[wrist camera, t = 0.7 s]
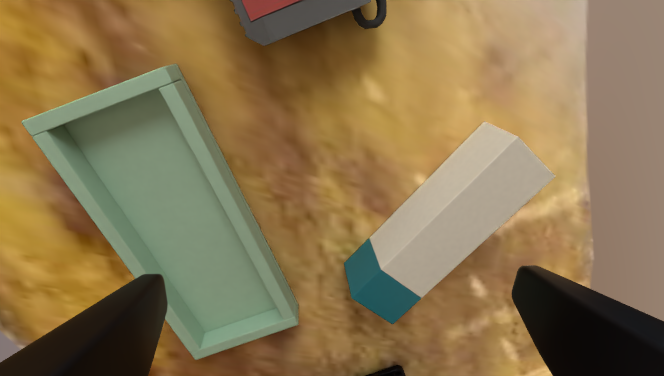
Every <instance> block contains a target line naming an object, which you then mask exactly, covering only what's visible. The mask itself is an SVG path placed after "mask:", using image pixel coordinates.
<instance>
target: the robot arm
mask: <svg viewBox="0 0 664 376" xmlns="http://www.w3.org/2000/svg"><path fill="white" fill-rule="evenodd" d="M512 299H513V302H514V304H515V306H516V308H517V310H518V312H519V314H520V316H521V318H522V320H523V322H524V324H525V326H526V328H527V330H528V332H529V334H530V336H531V338H532V340H533V342H534V344H535V346H536V348H537V350H538V351H539V353H540V355H541V357H542V358H543V360H544V362H545V364H546V365H547V367H548V368H549V370H550V372H551V373H552V375H553V376H664V321H662V320H659V319H657V318H655V317H652V316H650V315H648V314H646V313H643V312H641V311H639V310H637V309H634V308H632V307H630V306H627V305H625V304H623V303H621V302H619V301H616V300H614V299H612V298H609V297H607V296H605V295H603V294H600V293H598V292H596V291H593V290H591V289H589V288H587V287H584V286H582V285H580V284H578V283H575V282H573V281H571V280H569V279H566V278H564V277H562V276H560V275H557V274H555V273H553V272H550V271H548V270H546V269H544V268H541V267H539V266H535V265H534V266H521V267H520V268H519V269H518V271H517V275H516V278H515V282H514V285H513V289H512ZM167 307H168V301H167V295H166V289H165V283H164V278H163V276H162V275H161V274H143V275H141V276H139V277H137V278H136V279H134V280H133V281H131V282H129V283H128V284H126V285H125V286H123V287H121V288H120V289H118V290H117V291H115V292H113V293H112V294H110V295H108V296H107V297H105V298H104V299H102V300H100V301H99V302H97V303H96V304H94V305H92V306H91V307H89V308H88V309H86V310H84V311H83V312H81V313H79V314H78V315H76V316H75V317H73V318H71V319H70V320H68V321H67V322H65V323H63V324H62V325H60V326H59V327H57V328H55V329H54V330H52V331H50V332H49V333H47V334H46V335H44V336H42V337H41V338H39V339H38V340H36V341H34V342H33V343H31V344H30V345H28V346H26V347H25V348H23V349H21V350H20V351H18V352H17V353H15V354H13V355H12V356H10V357H9V358H7V359H5V360H4V361H2V362H1V363H0V376H148V374H149V371H150V368H151V365H152V361H153V358H154V354H155V351H156V347H157V344H158V341H159V337H160V334H161V330H162V327H163V323H164V320H165V316H166V313H167ZM366 376H405V373H404V370H403V368H402V366H400V365H396V366H393V367H390V368H387V369H384V370H381V371H378V372H375V373H372V374H369V375H366Z"/></svg>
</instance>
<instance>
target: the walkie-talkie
mask: <svg viewBox="0 0 664 376" xmlns="http://www.w3.org/2000/svg"><path fill="white" fill-rule="evenodd" d="M230 1H231V2H233V4H234V6H235V9H234V11H235V14H238V15H239V18H240V20H241V21H240V25H241V26H243V27H244V29H245V31H246V34H245V36H246V37H248V38H250V39H252V40H253V41H255V42H257V43H259V44H261V45H263V46H265V45H268V44H271V43H273V42H275V41H278V40H280V39H283V38H285V37H288V36H290V35H292V34H295V33H297V32H300V31H302V30H305V29H307V28H309V27H312V26H314V25H317V24H319V23H321V22H324V21H326V20H329V19H331V18H334V17H336V16H338V15H341V14H343V13H346V12H348V11H352V13H353V16H354V19H355V21H356V22H357V23H358V25H359V26H360V27H362V28H364V29H369V28H377V27H378V26H380V25H381V24H382V23H383V21H384V20H385V17H386V0H376V2H377V16H376V18H375V19H374V20H366V19H365V18H364V16H363V14H362V12H361V9H360V7H361V6H363V5H365V4H367V3H369V2H371V0H230Z"/></svg>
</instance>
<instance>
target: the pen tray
mask: <svg viewBox="0 0 664 376" xmlns="http://www.w3.org/2000/svg"><path fill="white" fill-rule="evenodd" d="M22 124H23V125H24V127H25V128H26V129H27V131H28V132H29V134H30V135H31V136H33V137H32V138H33V139H34V141H35V142H36V143H37V145H38V146H39V147H40V149H41V150H42V151H43V153H44V154H45V156H46V157H47V158H48V160H49V161H50V162H51V164H52V165H53V167H54V168H55V169H56V171H57V172H58V173H59V175H60V176H61V177H62V179H63V180H64V182H65V183H66V184H67V186H68V187H69V188H70V190H71V191H72V192H73V194H74V195H75V197H76V198H77V199H78V201H79V202H80V203H81V205H82V206H83V207H84V209H85V210H86V212H87V213H88V214H89V216H90V217H91V218H92V220H93V221H94V222H95V224H96V225H97V227H98V228H99V229H100V231H101V232H102V233H103V235H104V236H105V238H106V239H107V240H108V242H109V243H110V244H111V246H112V247H113V248H114V250H115V251H116V253H117V254H118V255H119V257H120V258H121V259H122V261H123V262H124V263H125V265H126V266H127V268H128V269H129V270H130V272H131V273H132V274H133V276H134V277H135V278H137V277H139V276H141V275H143V274H161V275H162V276H163V278H164V283H165V289H166V295H167V301H168V307H167V313H166V316H165V319H166V321H167V322H168V324H169V325H170V326H171V328H172V329H173V330H174V332H175V333H176V334H177V336H178V337H179V339H180V340H181V341H182V343H183V344H184V345H185V347H186V348H187V349H188V351H189V352H190V353H191V355H192V356H193V357H194V359H195V360H197V359H200V358H203V357H206V356H209V355H212V354H215V353H217V352H220V351H223V350H226V349H229V348H232V347H235V346H238V345H241V344H244V343H247V342H249V341H252V340H255V339H258V338H261V337H264V336H267V335H270V334H273V333H276V332H279V331H282V330H284V329H287V328H290V327H293V326H296V325H298V324H299V322H298V303H297V301H296V299H295V297H294V295H293V293H292V291H291V289H290V287H289V285H288V283H287V281H286V279H285V277H284V275H283V273H282V271H281V269H280V267H279V265H278V263H277V261H276V259H275V257H274V255H273V253H272V251H271V249H270V247H269V245H268V243H267V241H266V239H265V237H264V236H263V234H262V232H261V230H260V228H259V226H258V224H257V222H256V220H255V218H254V216H253V214H252V212H251V210H250V208H249V206H248V204H247V202H246V200H245V198H244V196H243V194H242V192H241V190H240V188H239V186H238V184H237V182H236V180H235V178H234V176H233V174H232V172H231V170H230V168H229V166H228V164H227V162H226V160H225V158H224V156H223V154H222V152H221V150H220V148H219V146H218V144H217V142H216V140H215V138H214V137H213V135H212V133H211V131H210V129H209V127H208V125H207V123H206V121H205V119H204V117H203V115H202V113H201V111H200V109H199V107H198V105H197V103H196V101H195V99H194V97H193V95H192V93H191V91H190V89H189V87H188V85H187V83H186V81H185V79H184V77H183V75H182V73H181V71H180V69H179V67H178V65H177V64H173V65H169V66H164V67H161V68H159V69H156V70H154V71H151V72H148V73H146V74H143V75H141V76H138V77H135V78H133V79H130V80H128V81H125V82H122V83H120V84H117V85H114V86H112V87H109V88H107V89H104V90H101V91H99V92H96V93H94V94H91V95H88V96H86V97H83V98H81V99H78V100H75V101H73V102H70V103H68V104H65V105H62V106H60V107H57V108H55V109H52V110H49V111H47V112H44V113H42V114H39V115H36V116H34V117H31V118H29V119H26V120H23V121H22Z"/></svg>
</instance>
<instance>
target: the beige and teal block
mask: <svg viewBox="0 0 664 376" xmlns="http://www.w3.org/2000/svg"><path fill="white" fill-rule="evenodd" d="M553 178H555V175H554V174H553V173H552V172H551V171H550V170H549V169H548V168H547V167H546V166H545V165H544V164H543V163H542V161H541V160H540V159H539V158H538V157H537V156H536V155H535V154H534V153H533V152H532V151H531V150H530V149H529V148H528V147H527V145H526V144H525V143H524V142H523V141H522V140H521V139H520V138H519V137H518V136H516V135H514V134H511V133H509V132H507V131H505V130H502V129H500V128H498V127H496V126H494V125H491V124H489V123H487V122H483V123H482V124H481V125H480V126H479V127H478V128H477V129H476V130H475V131H474V132H473V133H472V134H471V135H470V136H469V137H468V138H467V139H466V140H465V141H464V142H463V143H462V144H461V145H460V146H459V147H458V148H457V149H456V150H455V151H454V152H453V153H452V154H451V155H450V156H449V157H448V158H447V159H446V161H445V162H444V163H443V164H442V165H441V166H440V167H439V168H438V169H437V170H436V171H435V172H434V173H433V174H432V175H431V176H430V177H429V178H428V179H427V180H426V181H425V182H424V183H423V184H422V185H421V186H420V187H419V188H418V189H417V190H416V191H415V192H414V193H413V194H412V195H411V196H410V197H409V198H408V199H407V200H406V201H405V202H404V203H403V204H402V205H401V206H400V207H399V208H398V209H397V210H396V211H395V212H394V213H393V214H392V215H391V216H390V217H389V218H388V219H387V220H386V221H385V222H384V223H383V224H382V225H381V226H380V227H379V229H378V230H377V231H376V232H375V233H374V234H373V235H372V236H371V237H370V238H369V239H368V240H367V241H366V242H365V243H364V244H363V245H362V246H361V247H360V248H359V249H358V250H357V251H356V252H355V253H354V254H353V255H352V256H351V257H350V258H349V259H348V260H347V261H346V262H345V263H344V266H345V270H346V275H347V279H348V284H349V289H350V293H351V298H352V299H354V300H355V301H357V302H358V303H360V304H362V305H363V306H365V307H366V308H368V309H369V310H371V311H372V312H374V313H376V314H377V315H379V316H380V317H382V318H383V319H385V320H387V321H388V322H390V323H391V324H394V323H395V322H396V321H397V320H398V319H399V318H400V317H401V316H402V315H404V314H405V313H406V312H407V311H408V310H409V309H410V308H411V307H412V306H413V305H415V304H416V303H417V302H418V301H419V300H420V299H421V298H422V297H423V296H424V295H426V294H427V293H428V292H429V291H430V290H431V289H432V288H433V287H434V286H435V285H437V284H438V283H439V282H440V281H441V280H442V279H443V278H444V277H445V276H446V275H448V274H449V273H450V272H451V271H452V270H453V269H454V268H455V267H456V266H457V265H459V264H460V263H461V262H462V261H463V260H464V259H465V258H466V257H467V256H469V255H470V254H471V253H472V252H473V251H474V250H475V249H476V248H477V247H478V246H480V245H481V244H482V243H483V242H484V241H485V240H486V239H487V238H488V237H489V236H491V235H492V234H493V233H494V232H495V231H496V230H497V229H498V228H499V227H500V226H502V225H503V224H504V223H505V222H506V221H507V220H508V219H509V218H510V217H512V216H513V215H514V214H515V213H516V212H517V211H518V210H519V209H520V208H521V207H523V206H524V205H525V204H526V203H527V202H528V201H529V200H530V199H531V198H532V197H534V196H535V195H536V194H537V193H538V192H539V191H540V190H541V189H542V188H543V187H545V186H546V185H547V184H548V183H549V182H550V181H551V180H552V179H553Z"/></svg>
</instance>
